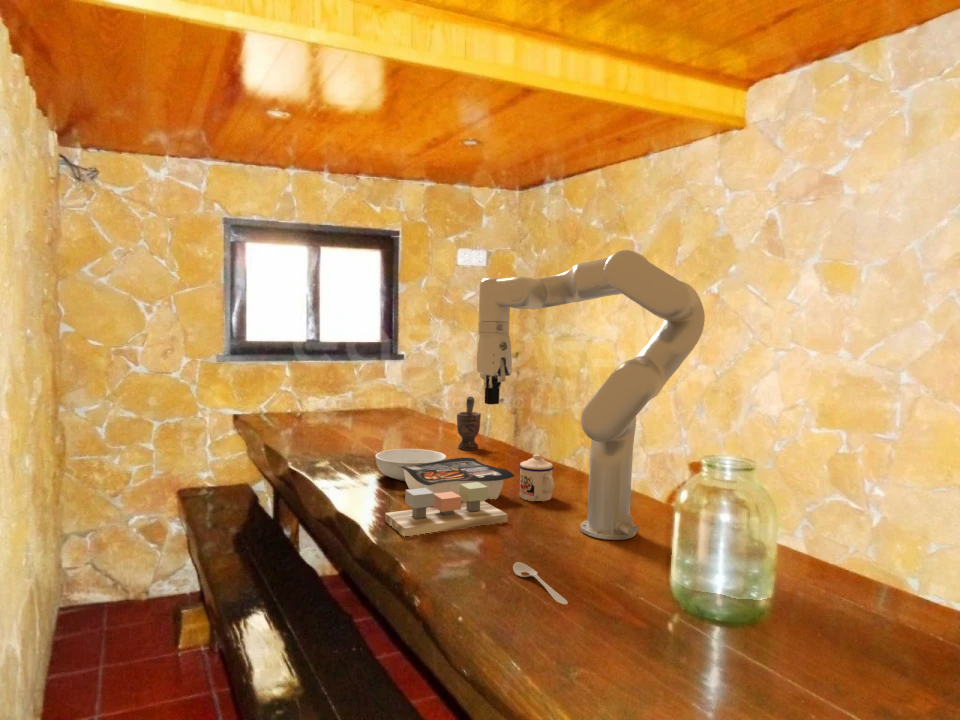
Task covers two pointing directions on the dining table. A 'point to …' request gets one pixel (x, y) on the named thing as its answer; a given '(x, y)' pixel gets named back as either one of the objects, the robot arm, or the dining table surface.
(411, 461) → the serving bowl
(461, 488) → the sage button
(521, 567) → the spoon
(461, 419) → the mortar and pestle
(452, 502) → the terracotta button
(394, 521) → the button board
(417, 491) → the slate button
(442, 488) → the food packaging
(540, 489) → the teacup with lid
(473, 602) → the dining table surface
